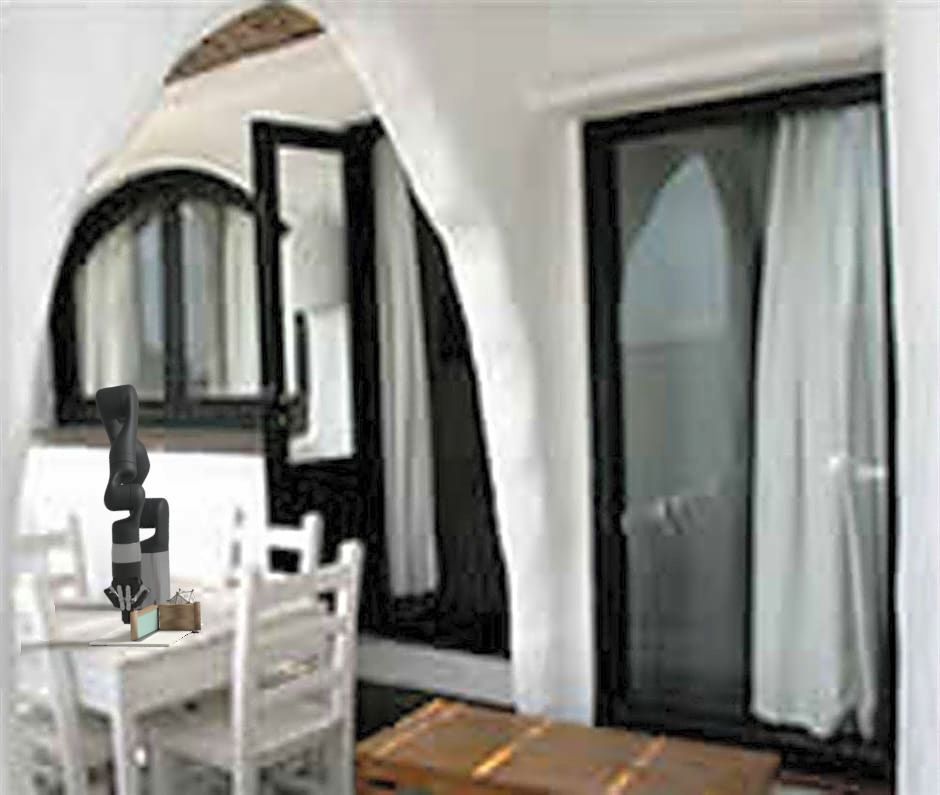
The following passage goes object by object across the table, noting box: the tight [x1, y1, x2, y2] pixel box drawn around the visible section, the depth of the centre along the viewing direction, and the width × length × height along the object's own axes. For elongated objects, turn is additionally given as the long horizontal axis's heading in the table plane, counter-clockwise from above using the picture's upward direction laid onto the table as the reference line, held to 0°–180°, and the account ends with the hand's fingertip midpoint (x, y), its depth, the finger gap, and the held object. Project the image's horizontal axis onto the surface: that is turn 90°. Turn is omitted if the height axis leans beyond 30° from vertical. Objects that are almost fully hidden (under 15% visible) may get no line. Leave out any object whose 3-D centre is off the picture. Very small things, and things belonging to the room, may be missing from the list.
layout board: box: [88, 622, 204, 647], centre depth 317 cm, size 24×24×1 cm
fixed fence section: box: [154, 600, 202, 632], centre depth 319 cm, size 13×2×8 cm, turn 82°
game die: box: [166, 588, 202, 607], centre depth 339 cm, size 9×8×10 cm
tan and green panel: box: [130, 605, 158, 640], centre depth 313 cm, size 13×2×7 cm, turn 168°
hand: (128, 623), depth 311 cm, fingers closed
